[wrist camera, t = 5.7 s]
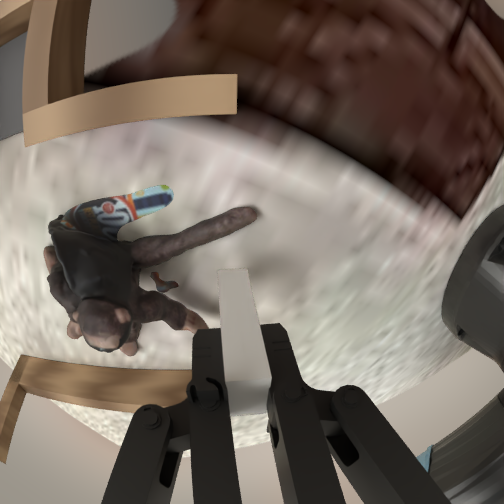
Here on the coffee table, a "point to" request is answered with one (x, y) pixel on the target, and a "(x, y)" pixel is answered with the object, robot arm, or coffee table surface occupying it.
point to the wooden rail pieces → (73, 121)
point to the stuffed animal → (123, 267)
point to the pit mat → (11, 86)
